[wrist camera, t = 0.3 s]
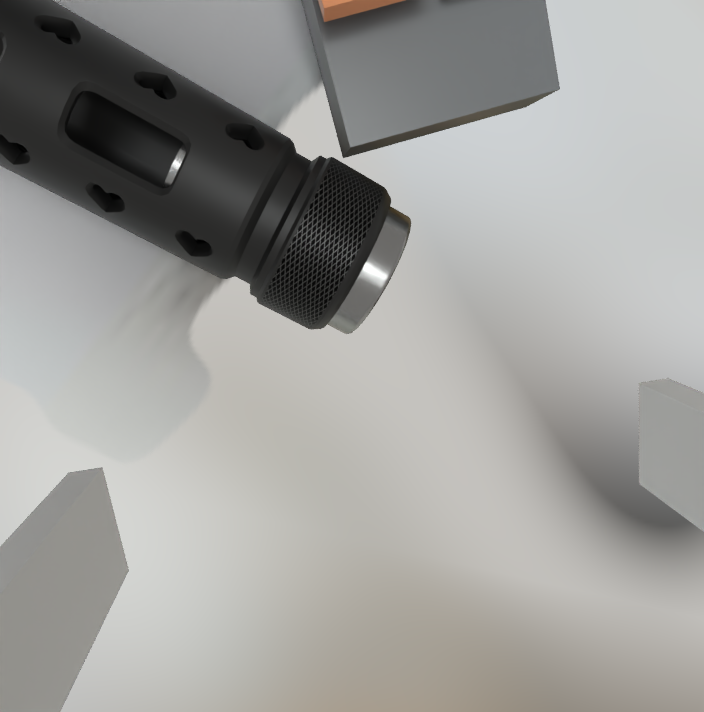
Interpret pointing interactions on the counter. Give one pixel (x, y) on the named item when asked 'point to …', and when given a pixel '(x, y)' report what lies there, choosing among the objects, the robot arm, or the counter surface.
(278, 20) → the counter surface
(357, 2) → the orange slotted plate
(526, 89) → the switch module
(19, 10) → the muzzle brake
